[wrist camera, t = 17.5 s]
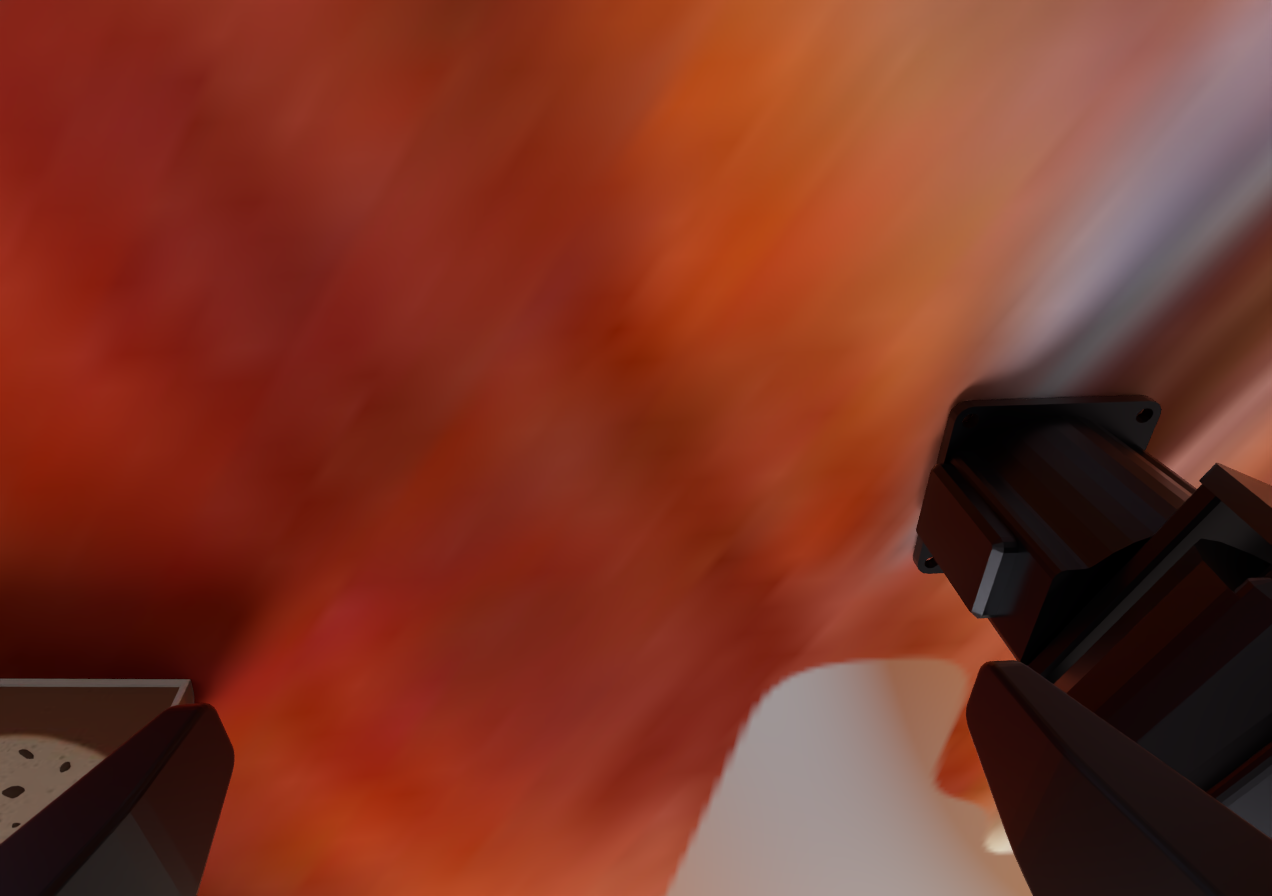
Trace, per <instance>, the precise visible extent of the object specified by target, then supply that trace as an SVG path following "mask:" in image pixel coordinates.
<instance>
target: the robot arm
mask: <svg viewBox="0 0 1272 896" xmlns="http://www.w3.org/2000/svg"><path fill="white" fill-rule="evenodd" d="M1143 409H1144V410H1143ZM1141 410H1143V411H1142V413H1141V414H1139V415H1138V416H1137V414H1138V413H1139V412H1140V411H1141ZM969 414H973V415H972V417H971V419H969V420H968V421H966V422H962V421H963V420H964V418H965V417H966V416H967V415H969ZM1160 414H1161V407H1160V405H1159V404H1158V403H1157V402H1156V401H1154V400H1152V399H1151V398H1149V397H1148V396H1143V395H1132V396H1099V397H1066V398H1033V399H1000V400H968V401H963V402H961V403H959V404H957V405H956V406H955V407H954V408H953V409H952V410H951V412H950V414H949V417H948V421H947V424H946V428H945V432H944V436H943V440H942V444H941V448H940V452H939V456H938V460H937V464H936V465H935V466H934V468H933V469H932V470H931V473H930V477H929V481H928V485H927V488H926V492H925V496H924V500H923V504H922V508H921V512H920V516H919V520H918V524H917V528H916V532H917V533H918V538H917V542H916V546H915V550H914V553H913V561H914V562H915V564H916V566H917V567H918V569H919V570H920V571H921V572H923V573H927V574H932V573H944V574H945V575H946V577H947V578H948V580H949V581H950V583H951V584H952V586H953V587H954V589H955V590H956V592H957V593H958V595H959V596H960V598H961V599H962V601H963V602H964V604H965V605H966V607H967V608H968V610H969V611H970V612H971V613H972V614H973V615H974V616H975V617H976V618H988V619H989V621H990V622H991V624H992V625H993V627H994V628H995V629H996V631H997V632H998V634H999V635H1000V637H1001V638H1002V640H1003V641H1004V642H1005V644H1006V645H1007V647H1008V648H1009V650H1010V651H1011V653H1012V654H1013V655H1014V657H1015V658H1016V660H1017V661H1014V660H1009V661H990V662H986V663H985V664H984V665H982V666H981V668H980V670H979V673H978V675H977V678H976V681H975V684H974V687H973V690H972V692H971V695H970V698H969V701H968V704H967V708H966V719H967V724H968V728H969V731H970V733H971V736H972V739H973V742H974V745H975V748H976V750H977V753H978V756H979V759H980V762H981V764H982V767H983V770H984V773H985V776H986V778H987V781H988V784H989V787H990V790H991V793H992V795H993V798H994V801H995V804H996V807H997V809H998V812H999V815H1000V818H1001V821H1002V823H1003V826H1004V829H1005V832H1006V835H1007V837H1008V840H1009V842H1010V845H1011V848H1012V850H1013V853H1014V855H1015V857H1016V860H1017V862H1018V864H1019V867H1020V869H1021V871H1022V873H1023V876H1024V878H1025V880H1026V882H1027V884H1028V886H1029V888H1030V890H1031V893H1032V895H1033V896H1272V486H1271V485H1268V484H1266V483H1264V482H1261V481H1259V480H1257V479H1254V478H1252V477H1250V476H1247V475H1245V474H1243V473H1240V472H1238V471H1236V470H1233V469H1231V468H1229V467H1226V466H1224V465H1222V464H1219V463H1216V464H1215V465H1214V466H1213V467H1212V468H1211V469H1210V470H1209V471H1208V472H1207V473H1206V474H1205V475H1204V476H1203V477H1202V478H1201V479H1200V480H1199V481H1200V482H1201V483H1202V485H1201V486H1200V487H1199V488H1198V489H1196V488H1195V487H1193V486H1192V485H1191V484H1189V483H1188V482H1187V481H1185V480H1184V479H1183V478H1181V477H1180V476H1179V475H1177V474H1176V473H1175V472H1173V471H1172V470H1170V469H1169V468H1168V467H1166V466H1165V465H1164V464H1162V463H1161V462H1160V461H1158V460H1157V459H1156V458H1154V457H1153V456H1152V455H1150V454H1149V453H1147V452H1146V451H1145V449H1146V447H1147V445H1148V442H1149V440H1150V438H1151V435H1152V433H1153V431H1154V428H1155V426H1156V424H1157V421H1158V419H1159V417H1160ZM930 557H933V558H931V559H930V560H927V559H928V558H930ZM926 560H927V561H926ZM233 767H234V750H233V746H232V744H231V742H230V740H229V737H228V735H227V733H226V731H225V729H224V726H223V724H222V722H221V720H220V718H219V715H218V713H217V711H216V709H215V708H214V707H213V706H211V705H210V704H206V703H198V704H180V705H174V706H171V707H169V708H167V709H166V710H164V711H163V712H161V713H160V714H159V715H158V716H157V717H155V718H154V719H153V720H152V721H150V722H149V723H148V724H147V725H146V726H144V727H143V728H142V729H141V730H139V731H138V732H137V733H136V734H134V735H133V736H132V737H131V738H130V739H128V740H127V741H126V742H125V743H123V744H122V745H121V746H120V747H119V748H117V749H116V750H115V751H114V752H112V753H111V754H110V755H109V756H107V757H106V758H105V759H104V760H103V761H101V762H100V763H99V764H98V765H96V766H95V767H94V768H93V769H91V770H90V771H89V772H88V773H87V774H85V775H84V776H83V777H82V778H80V779H79V780H78V781H77V782H76V783H74V784H73V785H72V786H71V787H69V788H68V789H67V790H66V791H64V792H63V793H62V794H61V795H60V796H58V797H57V798H56V799H55V800H53V801H52V802H51V803H50V804H49V805H47V806H46V807H45V808H44V809H42V810H41V811H40V812H39V813H37V814H36V815H35V816H34V817H33V818H31V819H30V820H29V821H28V822H26V823H25V824H24V825H23V826H21V827H20V828H19V829H18V830H17V831H15V832H14V833H13V834H12V835H10V836H9V837H8V838H7V839H6V840H4V841H3V842H2V843H1V844H0V896H197V893H198V890H199V887H200V884H201V880H202V877H203V873H204V870H205V866H206V863H207V859H208V856H209V852H210V849H211V845H212V842H213V838H214V835H215V831H216V828H217V824H218V821H219V817H220V814H221V810H222V807H223V803H224V800H225V796H226V793H227V789H228V786H229V782H230V779H231V775H232V772H233Z"/></svg>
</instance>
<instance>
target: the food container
mask: <svg viewBox="0 0 1272 896" xmlns="http://www.w3.org/2000/svg"><path fill="white" fill-rule="evenodd" d="M180 704H194V692H193V688H192V683H191V679H0V844H1V843H2V842H3V841H4V840H6V839H7V838H8V837H9V836H10V835H12V834H13V833H14V832H15V831H17V830H18V829H19V828H20V827H21V826H23V825H24V824H25V823H26V822H28V821H29V820H30V819H31V818H33V817H34V816H35V815H36V814H37V813H39V812H40V811H41V810H42V809H44V808H45V807H46V806H47V805H49V804H50V803H51V802H52V801H53V800H55V799H56V798H57V797H58V796H60V795H61V794H62V793H63V792H64V791H66V790H67V789H68V788H69V787H71V786H72V785H73V784H74V783H76V782H77V781H78V780H79V779H80V778H82V777H83V776H84V775H85V774H87V773H88V772H89V771H90V770H91V769H93V768H94V767H95V766H96V765H98V764H99V763H100V762H101V761H103V760H104V759H105V758H106V757H107V756H109V755H110V754H111V753H112V752H114V751H115V750H116V749H117V748H119V747H120V746H121V745H122V744H123V743H125V742H126V741H127V740H128V739H130V738H131V737H132V736H133V735H134V734H136V733H137V732H138V731H139V730H141V729H142V728H143V727H144V726H146V725H147V724H148V723H149V722H150V721H152V720H153V719H154V718H155V717H157V716H158V715H159V714H160V713H161V712H163V711H164V710H166V709H167V708H169V707H171V706H174V705H180Z"/></svg>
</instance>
